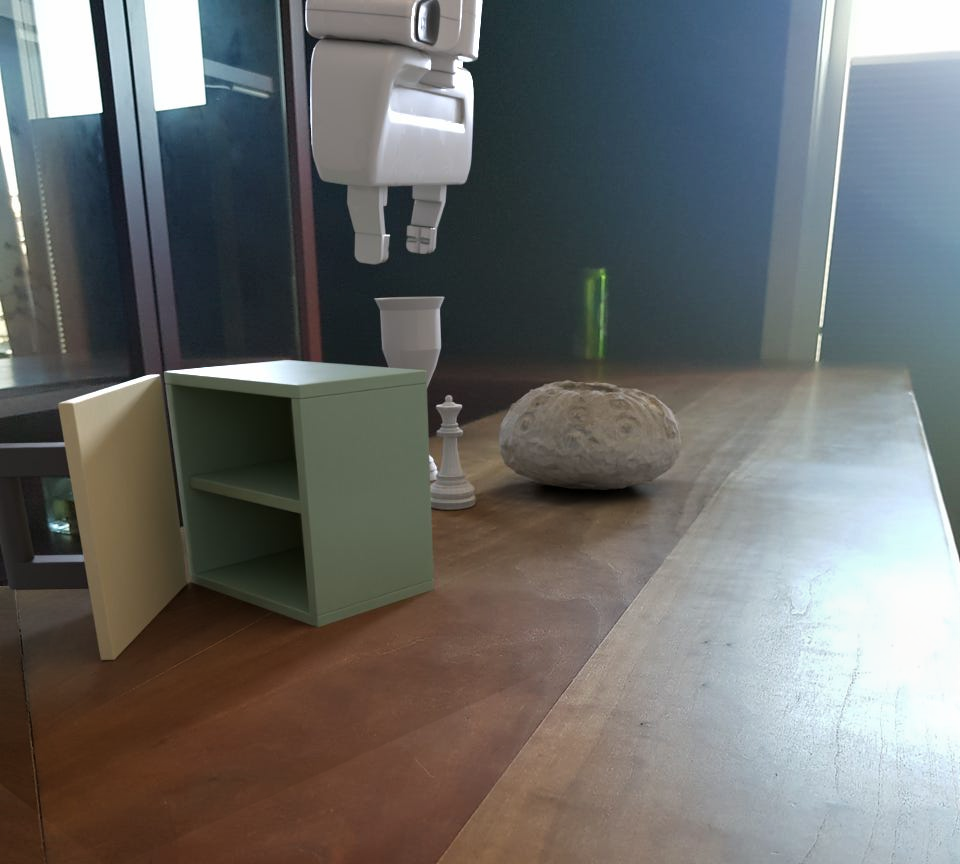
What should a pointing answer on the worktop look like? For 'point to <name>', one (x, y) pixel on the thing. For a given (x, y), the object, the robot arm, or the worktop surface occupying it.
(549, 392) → the decorative shell
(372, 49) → the robot arm
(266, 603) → the cupboard
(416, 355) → the chalice
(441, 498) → the chess piece
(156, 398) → the door
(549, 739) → the worktop surface
